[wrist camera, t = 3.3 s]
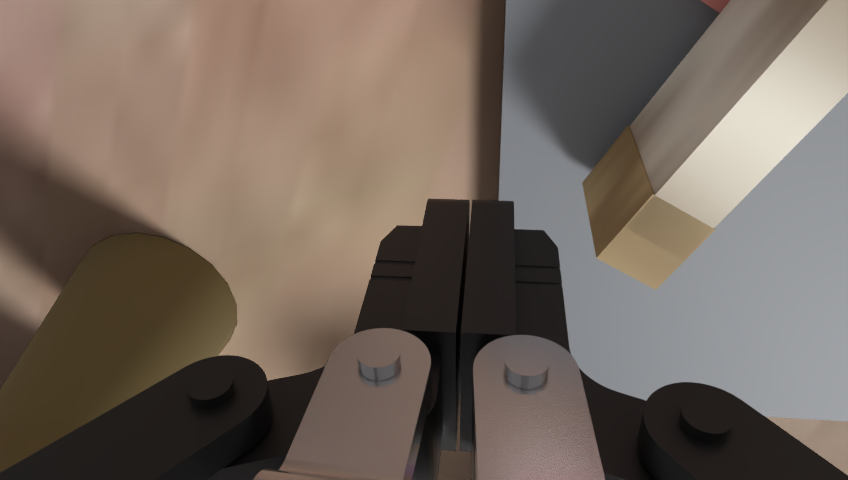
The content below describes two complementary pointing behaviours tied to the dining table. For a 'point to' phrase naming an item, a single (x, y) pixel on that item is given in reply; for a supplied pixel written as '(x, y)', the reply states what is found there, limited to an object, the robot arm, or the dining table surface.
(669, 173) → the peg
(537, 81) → the grey flat slab
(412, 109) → the dining table surface
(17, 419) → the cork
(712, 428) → the robot arm
